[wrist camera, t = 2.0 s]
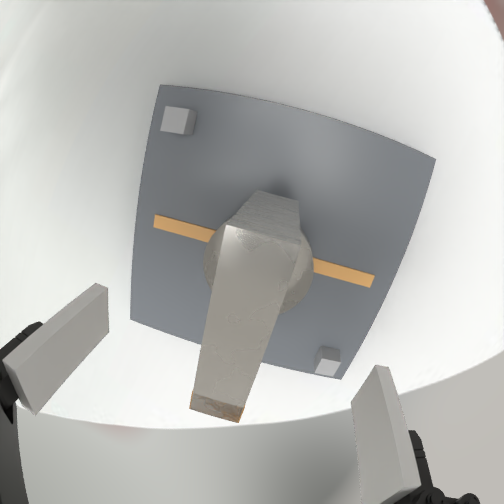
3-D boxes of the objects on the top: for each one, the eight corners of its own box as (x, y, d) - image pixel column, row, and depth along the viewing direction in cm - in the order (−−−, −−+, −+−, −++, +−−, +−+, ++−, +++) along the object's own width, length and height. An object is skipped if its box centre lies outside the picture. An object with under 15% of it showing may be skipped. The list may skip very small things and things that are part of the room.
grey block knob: (226, 177, 21) (161, 207, 11) (332, 206, 20) (366, 264, 10) (200, 303, 25) (148, 393, 15) (289, 328, 25) (281, 432, 14)
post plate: (165, 86, 22) (149, 80, 19) (430, 158, 21) (446, 160, 18) (135, 313, 31) (121, 329, 28) (340, 372, 30) (342, 392, 27)
